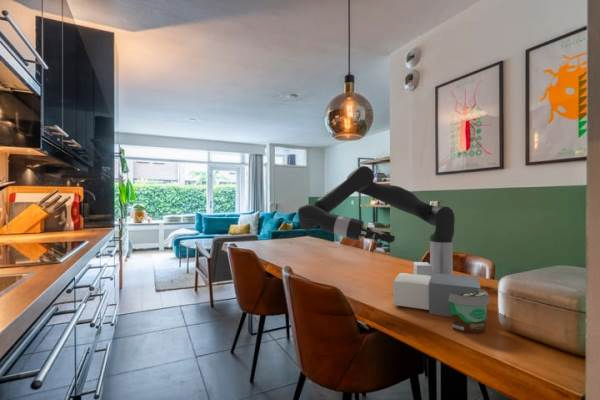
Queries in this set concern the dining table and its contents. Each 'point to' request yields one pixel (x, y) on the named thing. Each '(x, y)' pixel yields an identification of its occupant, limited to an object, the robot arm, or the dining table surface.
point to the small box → (422, 268)
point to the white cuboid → (411, 290)
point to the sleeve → (448, 290)
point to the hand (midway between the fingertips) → (393, 239)
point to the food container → (469, 312)
